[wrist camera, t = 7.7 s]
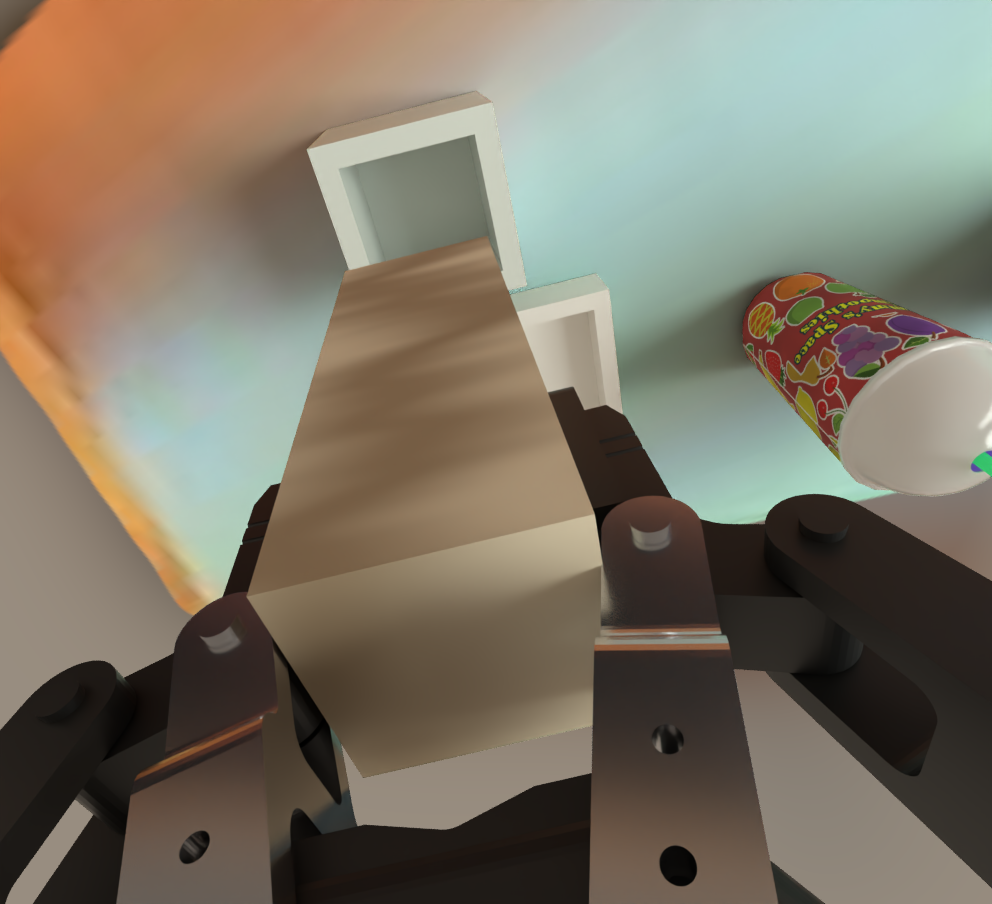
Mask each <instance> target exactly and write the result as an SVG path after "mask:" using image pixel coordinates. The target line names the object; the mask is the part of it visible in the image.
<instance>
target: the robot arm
mask: <svg viewBox="0 0 992 904" xmlns="http://www.w3.org/2000/svg"><path fill="white" fill-rule="evenodd" d="M548 395H549V397H550V400H551V402H552V405H553V408H554V410H555V413H556V415H557V418H558V420H559V423H560V426H561V428H562V431H563V433H564V436H565V439H566V441H567V444H568V446H569V449H570V451H571V454H572V457H573V459H574V462H575V464H576V467H577V470H578V472H579V475H580V477H581V480H582V482H583V485H584V488H585V490H586V493H587V495H588V498H589V501H590V503H591V506H592V508H593V511H594V513H595V519H596V525H597V532H598V538H599V544H600V551H601V557H602V563H603V565H601V630H600V636H596V638H595V645H594V676H593V728H592V729H593V731H592V773H590V774H586V775H582V776H577V777H573V778H568V779H564V780H560V781H556V782H551V783H546V784H542V785H537V786H534V787H532V788H530V789H528V790H526V791H524V792H522V793H520V794H519V795H517V796H515V797H513V798H511V799H509V800H507V801H505V802H503V803H501V804H499V805H498V806H496V807H494V808H492V809H490V810H488V811H486V812H484V813H482V814H481V815H479V816H477V817H475V818H473V819H471V820H469V821H467V822H465V823H463V824H462V825H460V826H457V827H455V828H452V829H447V830H438V829H421V828H407V827H391V826H390V827H389V826H376V825H362V826H357V823H356V819H355V816H354V811H353V806H352V801H351V795H350V790H349V784H348V779H347V774H346V768H345V763H344V757H343V751H342V746H341V743H340V741H339V739H338V738H337V736H336V735H335V733H334V732H333V730H332V729H331V727H330V725H329V724H328V722H327V721H326V719H325V718H324V716H323V715H322V713H321V712H320V710H319V708H318V707H317V705H316V704H315V702H314V701H313V699H312V698H311V696H310V694H309V693H308V691H307V690H306V688H305V687H304V685H303V684H302V682H301V681H300V679H299V677H298V676H297V674H296V673H295V671H294V670H293V668H292V667H291V665H290V663H289V662H288V660H287V659H286V657H285V656H284V654H283V653H282V651H281V649H280V648H279V646H278V645H277V643H276V642H275V640H274V639H273V637H272V636H271V634H270V632H269V631H268V629H267V628H266V626H265V625H264V623H263V622H262V620H261V618H260V617H259V615H258V614H257V612H256V611H255V609H254V608H253V606H252V604H251V603H250V601H249V600H248V598H247V593H248V590H249V587H250V584H251V580H252V577H253V574H254V570H255V567H256V564H257V560H258V557H259V554H260V550H261V547H262V544H263V541H264V537H265V534H266V531H267V527H268V524H269V521H270V517H271V514H272V511H273V508H274V504H275V501H276V498H277V494H278V491H279V488H280V484H281V483H279V484H275V485H271V486H270V487H269V488H268V489H267V491H266V492H265V493H264V494H263V495H262V497H261V498H260V499H259V500H258V501H257V502H256V504H255V505H254V507H253V510H252V513H251V516H250V519H249V522H248V528H247V529H246V531H245V534H244V536H243V539H242V542H243V545H240V548H239V551H238V554H237V557H236V560H235V563H234V565H233V568H232V571H231V574H230V577H229V580H228V583H227V586H226V589H225V592H224V594H223V597H222V598H219V599H217V600H215V601H213V602H212V603H210V604H208V605H207V606H205V607H204V608H203V609H201V610H200V611H199V612H198V613H196V614H195V615H194V616H193V617H192V618H191V619H190V620H189V621H188V622H187V624H186V625H185V626H184V627H183V629H182V630H181V632H180V634H179V636H178V638H177V640H176V643H175V648H174V653H173V654H171V655H169V656H168V657H165V658H163V659H161V660H159V661H157V662H155V663H153V664H151V665H149V666H147V667H145V668H143V669H141V670H139V671H137V672H135V673H133V674H131V675H129V676H126V677H124V678H123V677H122V676H121V675H120V673H119V672H118V671H117V670H116V669H115V668H114V667H113V666H112V665H111V664H110V663H108V662H105V661H89V662H85V663H81V664H78V665H76V666H73V667H71V668H69V669H67V670H65V671H63V672H61V673H59V674H58V675H56V676H55V677H53V678H52V679H50V680H49V681H47V682H46V683H45V684H43V685H42V686H41V687H40V688H39V689H38V690H37V691H35V692H34V693H33V694H32V695H31V697H29V698H28V699H27V701H26V702H25V703H24V704H23V705H22V706H21V707H20V708H19V710H18V711H17V712H16V713H15V714H14V715H13V716H12V718H11V719H10V720H9V721H8V722H7V723H6V724H5V725H4V727H3V728H2V729H1V730H0V904H5V902H6V899H7V897H8V894H9V892H10V890H11V888H12V887H13V885H14V883H15V882H16V880H17V879H18V878H19V876H20V875H21V873H22V872H23V871H24V869H25V868H26V866H27V865H28V864H29V862H30V861H31V859H32V858H33V857H34V855H35V854H36V853H37V851H38V850H39V848H40V847H41V846H42V844H43V843H44V841H45V840H46V838H47V837H48V836H49V834H50V833H51V832H52V830H53V829H54V827H55V826H56V825H57V823H58V822H59V820H60V819H61V818H62V816H63V815H64V813H65V812H66V811H67V809H68V808H69V806H70V805H71V804H72V802H73V801H74V799H75V800H77V801H78V802H79V803H80V804H81V805H83V806H84V807H85V808H86V809H87V810H89V811H90V812H91V813H92V814H93V816H92V818H91V819H90V821H89V822H88V824H87V825H86V827H85V828H84V830H83V831H82V832H81V834H80V835H79V837H78V838H77V840H76V841H75V843H74V844H73V846H72V847H71V849H70V850H69V851H68V853H67V855H66V856H65V857H64V859H63V860H62V862H61V863H60V865H59V866H58V868H57V869H56V871H55V872H54V874H53V875H52V876H51V878H50V879H49V881H48V882H47V884H46V885H45V887H44V888H43V890H42V891H41V893H40V894H39V896H38V897H37V899H36V900H35V902H34V903H33V904H825V903H824V902H822V901H821V900H820V899H818V898H817V897H816V896H815V895H813V894H812V893H811V892H810V891H808V890H807V889H806V888H804V887H803V886H802V885H801V884H799V883H798V882H797V881H796V880H794V879H793V878H792V877H791V876H789V875H788V874H787V873H785V872H784V871H783V870H782V869H780V868H779V867H778V866H777V865H775V864H774V863H773V862H771V861H770V857H769V852H768V847H767V842H766V836H765V831H764V825H763V820H762V815H761V810H760V804H759V799H758V794H757V789H756V783H755V778H754V772H753V767H752V762H751V757H750V752H749V746H748V741H747V736H746V731H745V725H744V720H743V714H742V709H741V704H740V698H739V693H738V688H737V683H736V678H735V672H734V669H744V670H758V671H766V673H767V674H768V675H769V677H771V679H772V680H773V681H774V682H776V684H777V685H778V686H780V687H781V688H782V689H783V690H784V691H785V692H786V693H787V694H788V695H789V696H790V697H791V698H792V699H793V700H794V701H795V702H796V703H797V704H798V705H800V706H801V707H802V708H803V709H804V710H805V711H806V712H807V713H808V714H809V715H810V716H811V717H812V718H813V719H814V720H815V721H816V722H817V723H819V724H820V725H821V726H822V727H823V728H824V729H825V730H826V731H827V732H828V733H829V734H830V735H831V736H832V737H833V738H834V739H835V740H836V741H837V742H839V743H840V744H841V745H842V746H843V747H844V748H845V749H846V750H847V751H848V752H849V753H850V754H851V755H852V756H853V757H854V758H855V759H856V760H857V761H859V762H860V763H861V764H862V765H863V766H864V767H865V768H866V769H867V770H868V771H869V772H870V773H871V774H872V775H873V776H874V777H875V778H876V779H877V780H879V781H880V782H881V783H882V784H883V785H884V786H885V787H886V788H887V789H888V790H889V791H890V792H891V793H892V794H893V795H894V796H895V797H896V798H897V799H899V800H900V801H901V802H902V803H903V804H904V805H905V806H906V807H907V808H908V809H909V810H910V811H911V812H912V813H913V814H914V815H915V816H917V817H918V818H919V819H920V820H921V821H922V822H923V823H924V824H925V825H926V826H927V827H928V828H929V829H930V830H931V831H932V832H933V833H934V834H935V835H936V836H938V837H939V838H940V839H941V840H942V841H943V842H944V843H945V844H946V845H947V846H948V847H949V848H950V849H951V850H953V852H954V853H955V854H957V855H958V856H959V857H960V858H961V859H962V860H963V861H964V862H965V863H966V864H967V865H968V866H969V867H970V868H971V869H972V870H973V871H974V872H975V873H976V874H978V875H979V876H980V877H981V878H982V879H983V880H984V881H985V882H986V883H987V884H988V885H989V886H990V887H991V888H992V581H990V580H989V579H987V578H985V577H984V576H982V575H980V574H979V573H977V572H975V571H973V570H972V569H970V568H968V567H966V566H965V565H963V564H961V563H959V562H958V561H956V560H954V559H952V558H951V557H949V556H947V555H946V554H944V553H942V552H940V551H939V550H936V549H935V548H933V547H932V546H930V545H928V544H926V543H925V542H923V541H921V540H920V539H918V538H916V537H914V536H912V535H911V534H909V533H907V532H905V531H904V530H902V529H900V528H899V527H897V526H895V525H893V524H891V523H890V522H888V521H887V520H885V519H883V518H881V517H879V516H878V515H876V514H874V513H873V512H871V511H869V510H867V509H866V508H864V507H862V506H860V505H858V504H856V503H854V502H852V501H849V500H847V499H844V498H840V497H836V496H831V495H823V494H806V495H799V496H794V497H791V498H788V499H786V500H783V501H781V502H780V503H778V504H777V505H775V506H774V507H773V508H772V509H771V510H770V511H769V513H768V515H767V517H766V520H765V524H721V523H714V522H709V521H706V520H702V519H700V518H699V517H698V515H697V514H696V512H695V511H694V510H693V509H692V508H690V507H689V506H688V505H686V504H684V503H683V502H681V501H678V500H675V499H673V498H672V497H671V495H670V493H669V492H668V490H667V488H666V486H665V485H664V483H663V481H662V479H661V478H660V476H659V474H658V472H657V471H656V469H655V467H654V465H653V464H652V462H651V460H650V458H649V457H648V455H647V453H646V451H645V450H644V449H643V447H642V444H641V443H640V441H639V439H638V437H637V436H635V432H634V430H633V429H632V427H631V425H630V423H629V422H628V420H627V418H626V416H624V415H623V414H621V413H619V412H618V411H616V410H614V409H613V408H611V407H609V406H608V405H603V406H599V407H595V408H591V409H587V410H584V408H583V406H582V404H581V401H580V399H579V397H578V395H577V393H576V391H575V389H574V387H573V386H572V387H568V388H563V389H559V390H555V391H551V392H548Z"/></svg>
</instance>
